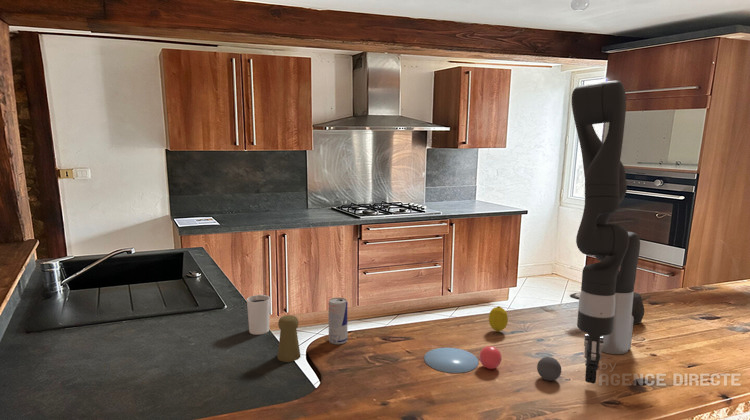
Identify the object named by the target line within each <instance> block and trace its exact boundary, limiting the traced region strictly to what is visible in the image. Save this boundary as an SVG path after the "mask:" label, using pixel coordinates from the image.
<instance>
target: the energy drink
mask: <svg viewBox="0 0 750 420" xmlns="http://www.w3.org/2000/svg"><path fill="white" fill-rule="evenodd" d="M328 342H329V343H330V344H332V345H337V346H338V345H344V344H346V342H348V301H347V299H346V298H344V297H332V298H330V299H329V300H328Z"/></svg>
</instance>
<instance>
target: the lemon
mask: <svg viewBox="0 0 750 420" xmlns="http://www.w3.org/2000/svg"><path fill="white" fill-rule="evenodd" d="M488 323H489V326H490V327H491V329H493V330H494V331H495V332H497V333H498V332H500V331H503V330H504V329H506V328H507V325H508V323H509V317H508V313H507V311H506V310H505V309H504V308H503V307H502V306H499V305H498V306H495V307H494V308H492V309H491V310H490V312H489V314H488Z"/></svg>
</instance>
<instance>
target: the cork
mask: <svg viewBox="0 0 750 420" xmlns="http://www.w3.org/2000/svg"><path fill="white" fill-rule="evenodd" d="M277 326H278V329H279V330H280V332H279V338H278V339H279V340H278V350H277V356H276V357H277V360H278V361H280V362H283V363H290V362H296V361H298V360H299V359H300V358H301V352H300V344H299V338H298V337H299V336H298V332H297V330H298V329H297V328H299V319H298V317H297V316H295V315H291V314H287V315H283V316H281V317H280V318H279V319H278V323H277Z"/></svg>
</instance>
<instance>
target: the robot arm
mask: <svg viewBox="0 0 750 420" xmlns="http://www.w3.org/2000/svg"><path fill="white" fill-rule="evenodd" d="M625 90H626V89H625V86H624V83H622V81H620V80H607V81H603V82H596V83H590V84H584V85H579V86H576V87H575V88H574V89H573V91H572V93H571V109H572V115H573V119H574V124H575V129H576V133H577V136H578V141H579V146H580V152H581V157H582V165H583V168H582V169H583V174H584V177H583V178H584V207H583V208H584V209H583V213H582V217H581V221H580V224H579V227H578V230H577V234H576V237H575V238H576V239H575V242H576V243H575V244H576V246H577V248H578V250H579V252H581V253H582V254H584V255H588V256H594V257H595V258H596V259H595V260H598V262H596V263H595V262H593V263H589V264H586V265H584V267H583V269H582V274H581V284H580V285H581V287H580V292H581V293H580V297H579V300H578V308H577V310H578V311H577V321H576V322H577V323H576V325H577V328H578V330H580V331H582V332H583V333H586V334H584V337H583V340H584V341H583V342H584V344H583V346H584V353H583V354H584V358H585V362H584V363H585V374H584V375H585V376H584V377H585V378H584V381H585V382H586V383H588V384H596V381H597V371H598V370H599V363H600V361H602V360H601V359H602V352H603V353H606V354H611V355H624V354H627V353H628V352H629V350H631V349H632V348H631V347H632V339H633V328H634V325H633V320H634V317H633V316H632V305H633V293H634V291H635V283H636V278H637V269H638V263H639V256H640V249H641V239H640V236H639V235H638V233H636V232H633V231H628V230H627V228H626V227H624V226H623V225H622V224H615V223H614V224H612V223H609V220H610V218H611V217H612V214H614V213H616V212H618V211H619V210H620V204H621V203H622V201H623V200H624V198H625V196H626V194H627V190H628V188H627V186H628V185H627V178H626V170H625V166H624V164H623V163H622V161H621V157H622V152H623V151H622V150H623V143H624V133H625V124H626V123H625V122H626V111H627V99H626V98H627V97H626V96H627V95H626V91H625ZM606 123H608V130H607V134H606V137H605V140H604V141H602V140H601V139H600V138H599V136H598V133H596V130H595V128H594V126H593V125H597V124H606Z"/></svg>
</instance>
